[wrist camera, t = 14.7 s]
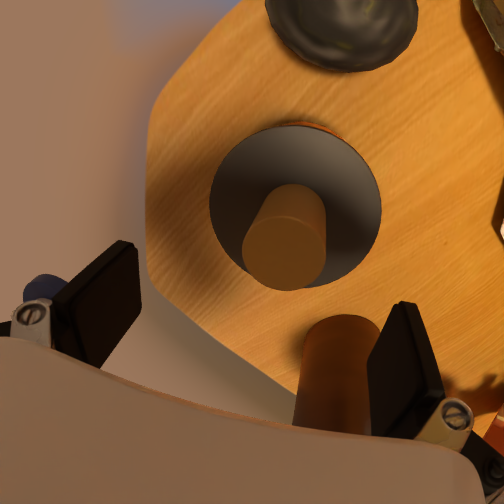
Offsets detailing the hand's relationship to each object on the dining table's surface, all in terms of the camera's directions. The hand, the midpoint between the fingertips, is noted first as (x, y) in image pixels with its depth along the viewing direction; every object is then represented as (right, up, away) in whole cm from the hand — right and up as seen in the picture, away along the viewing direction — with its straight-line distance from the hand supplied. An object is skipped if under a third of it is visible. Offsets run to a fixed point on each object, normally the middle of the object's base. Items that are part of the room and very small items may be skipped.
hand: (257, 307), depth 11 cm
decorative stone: (+5, +15, 0) cm, 15 cm away
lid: (+2, +4, +7) cm, 9 cm away
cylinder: (+10, -9, +23) cm, 26 cm away
